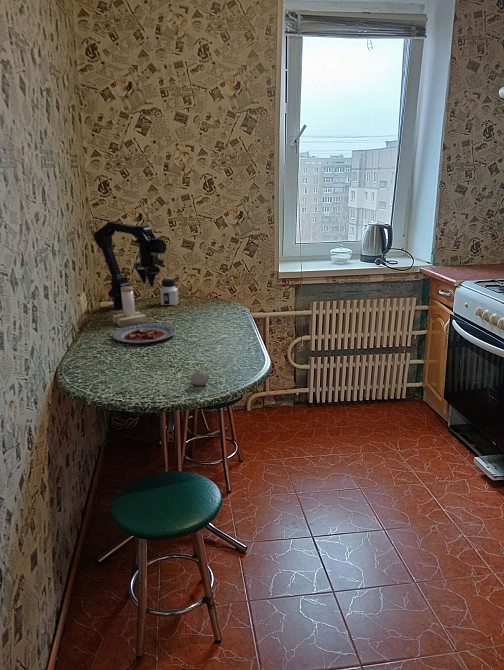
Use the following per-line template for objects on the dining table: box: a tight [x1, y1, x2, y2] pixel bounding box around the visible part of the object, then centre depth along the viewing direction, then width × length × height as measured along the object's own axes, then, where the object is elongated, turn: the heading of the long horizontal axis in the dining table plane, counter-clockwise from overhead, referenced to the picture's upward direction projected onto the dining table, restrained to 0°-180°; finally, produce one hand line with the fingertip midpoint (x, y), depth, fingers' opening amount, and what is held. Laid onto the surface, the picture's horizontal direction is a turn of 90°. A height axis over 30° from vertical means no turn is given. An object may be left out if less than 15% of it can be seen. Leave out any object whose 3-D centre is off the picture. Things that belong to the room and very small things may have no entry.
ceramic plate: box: [112, 323, 177, 344], centre depth 223 cm, size 26×26×3 cm
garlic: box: [190, 369, 210, 386], centre depth 171 cm, size 6×5×5 cm
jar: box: [121, 285, 136, 317], centre depth 243 cm, size 5×5×13 cm
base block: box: [112, 310, 148, 328], centre depth 245 cm, size 12×12×3 cm
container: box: [159, 277, 179, 306], centre depth 276 cm, size 8×8×13 cm
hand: (148, 285), depth 260 cm, fingers open, 9 cm apart
